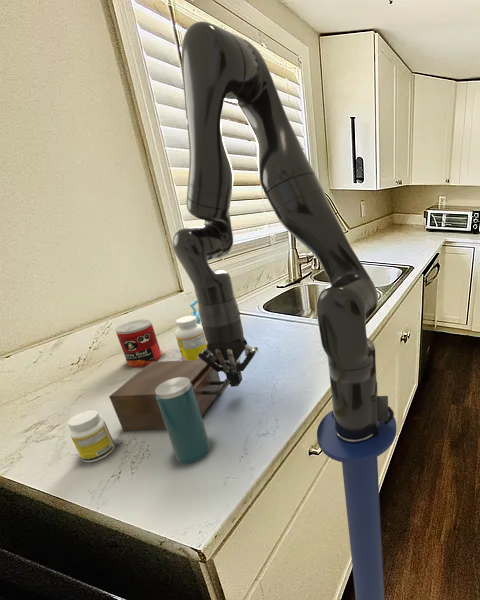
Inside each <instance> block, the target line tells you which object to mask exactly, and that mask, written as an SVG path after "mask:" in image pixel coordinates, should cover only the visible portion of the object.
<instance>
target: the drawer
mask: <svg viewBox="0 0 480 600" xmlns="http://www.w3.org/2000/svg"><path fill="white" fill-rule="evenodd" d="M192 385H193V389H194V392H195V396H196V399H197V402H198V406H199V409H200V413H201V416H202V417H203V415H204V414H205V413H206V411H207V410H208V409H209V407H210V406H211V404H212V403H213V401H214V400H215V399H216V398H217V397H221V396H222V395H223V393H224V392H225V391H226V389H227V388H228V386H230V380H229V379H227V378H225V379H224V380H223V381H222V380H221V378H220V372H217V371H215V370H214V369H213V368H212V367H211V366H209V367H208V369H207V370H206V371H204V372H203V373H202V374H201V375H200V376H199V378H198V379H197V380H196V381H195V382H194V383H193V384H192Z"/></svg>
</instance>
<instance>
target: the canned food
mask: <svg viewBox="0 0 480 600" xmlns="http://www.w3.org/2000/svg"><path fill="white" fill-rule="evenodd" d="M115 333H116V336H117V339H118V342H119V344H120V348H121V350H122V352H123V355H124V357H125V361H126V363H127V364H128V366H129V367H130V368H141V367H146V366H147V365H148V364H150V363H151V362H158V360H159V359H160V358H161V357H162V352H161V348H160V345H159V341H158V339H157V335H156V333H155V329H154V326H153V323H152V321H151V320H150V319H136V320H132V321H128V322H125V323H122V324H120V325H119V326H117V327H116V328H115Z"/></svg>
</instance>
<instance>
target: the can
mask: <svg viewBox="0 0 480 600" xmlns="http://www.w3.org/2000/svg"><path fill="white" fill-rule="evenodd" d="M155 392H156V396H155V397H156V400H157V403H158V406H159V409H160V412H161V415H162V418H163V420H164V423H165V426H166V429H165V430H166V432H167V435H168V438H169V440H170V444H171V446H172V449H173V452H174V455H175V458H176V461H177V462H178V463H180V464H182V465H187V464H193V463H195V462H197V461H200V460H201V459H202V458H203V457H205V456H206V455H207V454H208V452H209V451H210V449H211V444H210V441H209V437H208V434H207V430H206V427H205V423H204V420H203V418H202V417H203V415H202V416H201V413H200V409H199V406H198V402H197V399H196V396H195V392H194V389H193V385H192V383H190V380H189V379H188V378H185V377H178V378H173V379H170V380H167V381H165V382H163V383H162V384H160V385H159V386H158V387H157V388H156V390H155Z"/></svg>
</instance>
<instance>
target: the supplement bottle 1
mask: <svg viewBox="0 0 480 600" xmlns="http://www.w3.org/2000/svg"><path fill="white" fill-rule="evenodd" d="M67 425H68V427H69V430H70V433H69V435H70V438H71V441H72V442H73V444H74V446H75V448H76V450H77V452H78V454H79V456H80V458H81V461H82V462H85V463H93V462H97V461H100V460H102V459H104V458H105V457H107V456H109V455H110V454H111V453H112V452H113V451H114V449H115V448H116V447H115V446H116V445H115V442H114V439H113V437H112V435H111V433H110V430H109V427H108V425H107V423H106V421H105V420H104V419H103V418H101V416H100V415H99V412H98V411H97V410H92V409H90V410H86V411H82V412H79V413H77V414H75V415H73V417H71V418H70V419H68V422H67Z"/></svg>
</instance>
